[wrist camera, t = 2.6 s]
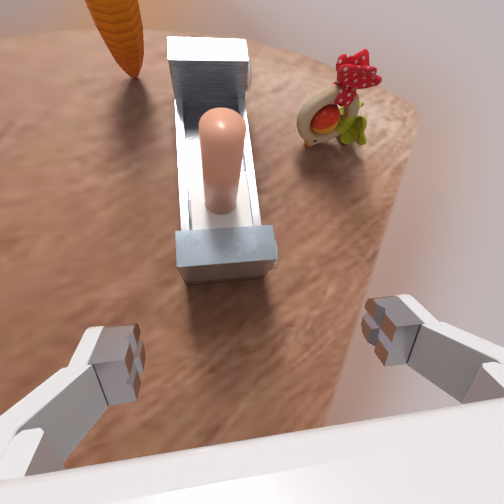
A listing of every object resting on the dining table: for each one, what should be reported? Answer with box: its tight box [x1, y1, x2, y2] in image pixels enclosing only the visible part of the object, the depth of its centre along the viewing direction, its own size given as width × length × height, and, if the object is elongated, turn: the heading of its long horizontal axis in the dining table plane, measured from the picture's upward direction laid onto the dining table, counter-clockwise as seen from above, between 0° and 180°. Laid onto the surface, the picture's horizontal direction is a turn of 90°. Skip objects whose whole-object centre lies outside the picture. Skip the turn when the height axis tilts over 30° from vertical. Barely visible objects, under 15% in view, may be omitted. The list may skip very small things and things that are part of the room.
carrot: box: [85, 0, 144, 78], centre depth 29 cm, size 5×5×15 cm
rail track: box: [167, 37, 278, 285], centre depth 30 cm, size 8×24×8 cm, turn 6°
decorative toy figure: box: [297, 49, 382, 147], centre depth 33 cm, size 6×11×9 cm
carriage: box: [189, 108, 253, 230], centre depth 24 cm, size 6×6×13 cm
